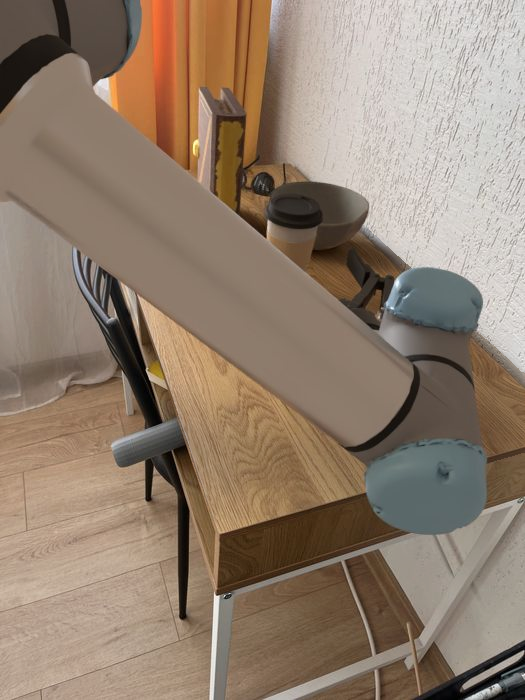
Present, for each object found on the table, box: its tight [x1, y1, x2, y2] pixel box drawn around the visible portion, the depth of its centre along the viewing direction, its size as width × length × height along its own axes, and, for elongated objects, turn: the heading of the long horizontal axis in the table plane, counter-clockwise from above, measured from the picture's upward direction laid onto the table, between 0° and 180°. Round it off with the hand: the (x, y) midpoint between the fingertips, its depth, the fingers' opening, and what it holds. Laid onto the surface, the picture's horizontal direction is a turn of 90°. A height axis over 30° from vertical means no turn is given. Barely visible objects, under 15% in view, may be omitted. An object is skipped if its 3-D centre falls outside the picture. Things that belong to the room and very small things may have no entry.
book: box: [192, 86, 248, 216], centre depth 110 cm, size 22×8×25 cm, turn 13°
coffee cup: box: [263, 194, 323, 272], centre depth 88 cm, size 9×9×15 cm
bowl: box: [268, 180, 370, 251], centre depth 110 cm, size 20×20×10 cm
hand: (305, 257), depth 76 cm, fingers open, 13 cm apart
